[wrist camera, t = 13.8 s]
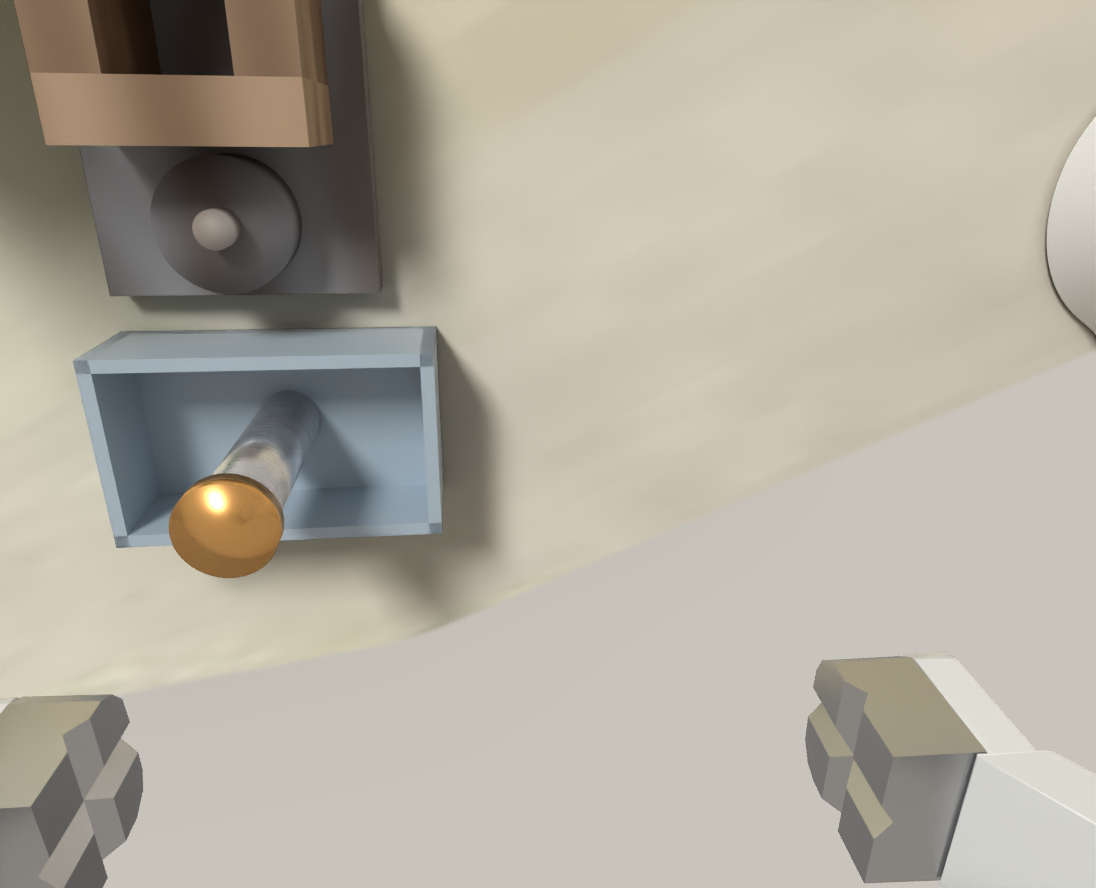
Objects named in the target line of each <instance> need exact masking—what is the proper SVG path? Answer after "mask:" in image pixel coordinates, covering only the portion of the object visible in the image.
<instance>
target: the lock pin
mask: <svg viewBox="0 0 1096 888" xmlns="http://www.w3.org/2000/svg"><path fill="white" fill-rule="evenodd" d="M320 427H321V414H320V411H319V409H318V407H317V405H316V404H315V403H314V402H313V401H312V400H311V399H310V398H309V397H307V396H306V395H304V394H302V393H299V392H296V391H281V392H278V393H275V394H273V395H271V396H270V397H269V398H268V399H267V400H266V401H265V402H264V403H263V405H262V406H261V408H260V409H259V410H258V412H257V413H256V415H255V416H254V417H253V419H252V420H251V421H250V423H249V424H248V426H247V427H246V428H245V430H244V431H243V433H242V434H241V435H240V437H239V438H238V439H237V441H236V442H235V444H234V445H233V446H232V448H231V449H230V451H229V452H228V453H227V455H226V456H225V458H224V459H223V460H222V462H221V463H220V464H219V466H218V467H217V469H216V470H215V471H214V473H213V474H212V475H210V476H207V477H204V478H202V479H200V480H198V481H197V482H195V483H194V484H193V485H191V486H190V487H189V488H188V489H187V491H186V492H185V493H184V495H183V496H182V497H181V498H180V500H179V501H178V502H177V504H176V505H175V507H174V508H173V510H172V513H171V515H170V519H169V535H170V539H171V542H172V544H173V547H174V548H175V550H176V552H177V553H178V554H179V555H180V557H181V558H182V559H183V560H184V561H185V562H186V563H188V564H189V565H190V566H191V567H193V568H195V569H196V570H198V571H200V572H203V573H205V574H208V575H211V576H215V577H222V578H236V577H242V576H246V575H249V574H252V573H254V572H256V571H258V570H259V569H261V568H262V567H264V566H265V565H266V564H267V563H268V562H269V561H270V560H271V558H272V557H273V555H274V554H275V551H276V549H277V547H278V545H279V542H280V540H281V538H282V535H283V532H284V525H285V520H284V514H283V508H284V506H285V503H286V501H287V499H288V497H289V495H290V493H291V491H292V488H293V486H294V484H295V482H296V480H297V478H298V475H299V473H300V471H301V469H302V467H303V465H304V463H305V460H306V458H307V456H308V454H309V452H310V450H311V448H312V445H313V443H314V441H315V439H316V437H317V435H318V433H319V430H320Z"/></svg>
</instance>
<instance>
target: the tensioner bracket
mask: <svg viewBox="0 0 1096 888" xmlns="http://www.w3.org/2000/svg"><path fill="white" fill-rule="evenodd" d="M14 4H15V8H16V13H17V17H18V22H19V26H20V31H21V35H22V40H23V44H24V49H25V53H26V58H27V62H28V67H29V71H30V76H31V80H32V85H33V89H34V94H35V98H36V103H37V107H38V112H39V117H40V121H41V126H42V130H43V135H44V139H45V144H46V145H79V148H80V153H81V158H82V163H83V167H84V172H85V177H86V182H87V187H88V192H89V196H90V201H91V206H92V211H93V216H94V221H95V225H96V230H97V235H98V240H99V245H100V250H101V254H102V259H103V264H104V269H105V274H106V279H107V283H108V288H109V293H110V296H172V295H258V294H344V293H380V291H381V289H382V273H381V259H380V246H379V232H378V218H377V204H376V190H375V176H374V162H373V148H372V134H371V120H370V106H369V92H368V79H367V65H366V51H365V37H364V23H363V9H362V0H14Z"/></svg>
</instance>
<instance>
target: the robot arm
mask: <svg viewBox="0 0 1096 888" xmlns="http://www.w3.org/2000/svg"><path fill="white" fill-rule="evenodd" d="M1047 256H1048V263H1049V268H1050V273H1051V276H1052V279H1053V282H1054V285H1055V287H1056V289H1057V291H1058V293H1059V295H1060V297H1061V299H1062V300H1063V302H1064V303H1065V305H1066V306H1067V307H1068V309H1069V310H1070V311H1071V312H1072V313H1073V314H1074V315H1075V316H1076V317H1077V318H1078V319H1080V320H1081V321H1082V322H1083V323H1084V324H1085V325H1086V326H1088V327H1089V328H1090V329H1091V330H1092V331H1093V332H1094V333H1095V335H1096V117H1095V118H1094V119H1093V121H1092V122H1091V123H1090V124H1089V126H1088V127H1087V128H1086V130H1085V131H1084V133H1083V134H1082V136H1081V137H1080V139H1079V140H1078V142H1077V144H1076V145H1075V147H1074V148H1073V150H1072V152H1071V154H1070V156H1069V158H1068V160H1067V162H1066V164H1065V166H1064V168H1063V170H1062V173H1061V175H1060V178H1059V180H1058V183H1057V186H1056V189H1055V192H1054V195H1053V199H1052V203H1051V207H1050V212H1049V218H1048V226H1047ZM814 690H815V691H816V693H817V695H818V697H819V698H820V700H821V702H822V703H821V704H820V705H819V706H818V707H817V708H816V709H815V710H814V711H813V712H812V713H811V714H810V715H809V716H808V723H807V730H806V738H805V740H806V749H807V758H808V764H809V767H810V770H811V774H812V777H813V780H814V783H815V785H816V787H817V789H818V791H819V793H820V795H821V797H822V799H824V800H825V801H826V802H828V803H829V804H830V805H832V806H833V807H834V808H836V809H837V810H839V811H840V812H841V818H840V823H839V829H838V832H839V834H840V836H841V838H842V840H843V842H844V844H845V846H846V848H847V850H848V852H849V854H850V856H851V858H852V860H853V862H854V864H855V866H856V868H857V870H858V872H859V874H860V876H861V877H862V880H863V881H864V883H882V882H906V881H933V880H940V885H941V886H942V887H943V888H1096V774H1094V773H1092V772H1090V771H1088V770H1086V769H1085V768H1082V767H1081V766H1079V765H1077V764H1075V763H1073V762H1071V761H1070V760H1068V759H1066V758H1064V757H1062V756H1060V755H1058V754H1056V753H1054V752H1052V751H1050V750H1048V751H1037V750H1036V749H1035V748H1034V747H1033V746H1032V745H1031V744H1030V742H1029V741H1028V740H1027V739H1026V738H1025V737H1024V735H1023V734H1022V733H1021V732H1020V731H1019V730H1018V729H1017V728H1016V726H1015V725H1014V724H1013V723H1012V722H1011V721H1010V720H1009V718H1008V717H1007V716H1006V715H1005V714H1004V713H1003V712H1002V711H1001V709H1000V708H999V707H998V706H997V705H996V704H995V702H994V701H993V700H992V699H991V698H990V697H989V696H988V694H987V693H986V692H985V691H984V690H983V689H982V688H981V686H980V685H979V684H978V683H977V682H976V681H975V680H974V679H973V678H972V676H971V675H970V674H969V673H968V672H967V671H966V669H965V668H964V667H963V666H962V665H961V664H960V663H959V662H958V660H957V659H956V658H954V657H953V656H951V655H949V654H947V653H945V652H939V653H925V654H911V655H903V656H902V657H901V656H895V657H877V658H860V659H859V658H858V659H840V660H823V661H822V662H821V664H820V665H819V667H818V669H817V671H816V676H815V681H814ZM129 723H130V721H129V718H128V715H127V712H126V709H125V706H124V703H123V700H122V699H121V698H119V697H116V696H114V695H73V696H34V697H22V698H0V888H103V886H104V884H105V882H106V880H107V874H106V871H105V868H104V864H103V861H102V860H103V859H104V858H105V857H106V856H108V855H109V854H110V853H111V852H113V851H114V850H115V849H116V848H118V847H119V846H120V845H121V844H122V843H124V842H125V841H126V840H127V838H128V835H129V833H130V831H131V829H132V827H133V825H134V823H135V821H136V818H137V815H138V810H139V806H140V801H141V797H142V792H143V776H142V766H141V762H140V758H139V754H138V752H137V751H135V750H134V749H133V748H132V747H131V746H129V745H128V744H127V743H126V742H124V741H123V740H122V739H121V736H122V735H123V733H124V731H125V730H126V728H127V726H128V724H129Z"/></svg>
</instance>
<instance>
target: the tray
mask: <svg viewBox="0 0 1096 888" xmlns="http://www.w3.org/2000/svg"><path fill="white" fill-rule="evenodd" d="M73 364H74V368H75V372H76V376H77V381H78V385H79V389H80V394H81V398H82V402H83V406H84V411H85V415H86V419H87V424H88V428H89V432H90V437H91V441H92V445H93V449H94V454H95V458H96V462H97V467H98V471H99V475H100V480H101V484H102V488H103V492H104V497H105V501H106V505H107V510H108V514H109V518H110V522H111V527H112V531H113V535H114V540H115V544H116V548H124V547H147V546H169V545H173V544H172V542H171V539H170V535H169V519H170V515H171V513H172V510H173V508H174V507H175V505H176V504H177V502H178V501H179V500H180V498H181V497H182V496H183V495H184V493H185V492H186V491H187V489H188V488H189V487H190V486H191V485H193V484H194V483H195V482H197V481H198V480H200V479H202V478H204V477H207V476H210V475H212V474H213V473H214V471H215V470H216V469H217V467H218V466H219V464H220V463H221V462H222V460H223V459H224V458H225V456H226V455H227V453H228V452H229V451H230V449H231V448H232V446H233V445H234V444H235V442H236V441H237V439H238V438H239V437H240V435H241V434H242V433H243V431H244V430H245V428H246V427H247V426H248V424H249V423H250V421H251V420H252V419H253V417H254V416H255V415H256V413H257V412H258V410H259V409H260V408H261V406H262V405H263V403H264V402H265V401H266V400H267V399H268V398H269V397H270V396H271V395H273V394H275V393H278V392H281V391H296V392H299V393H302V394H304V395H306V396H307V397H309V398H310V399H311V400H312V401H313V402H314V403H315V404H316V405H317V407H318V409H319V411H320V414H321V427H320V430H319V433H318V435H317V437H316V439H315V441H314V443H313V445H312V448H311V450H310V452H309V454H308V456H307V458H306V460H305V463H304V465H303V467H302V469H301V471H300V473H299V475H298V478H297V480H296V482H295V484H294V486H293V488H292V491H291V493H290V495H289V497H288V499H287V501H286V503H285V506H284V508H283V514H284V520H285V525H284V532H283V535H282V538H281V540H280V541H283V540H306V539H328V538H351V537H374V536H396V535H419V534H442V520H443V493H444V485H443V464H442V442H441V421H440V399H439V377H438V356H437V334H436V327H377V328H316V329H254V330H192V331H130V332H119V333H118V334H116V335H114V336H113V337H111V338H109V339H108V340H106V341H104V342H103V343H101V344H100V345H98V346H96V347H95V348H93V349H91V350H90V351H88V352H86V353H85V354H83V355H81V356H80V357H78V358H76V359H75V360H73Z"/></svg>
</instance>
